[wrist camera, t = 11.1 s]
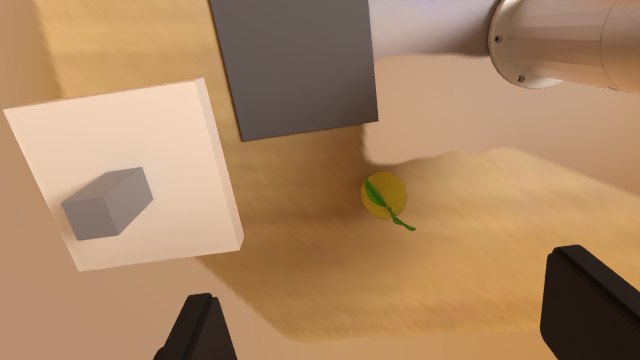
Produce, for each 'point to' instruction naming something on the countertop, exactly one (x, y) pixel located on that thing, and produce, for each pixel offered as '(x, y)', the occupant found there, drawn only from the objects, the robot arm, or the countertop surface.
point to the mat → (297, 64)
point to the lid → (132, 173)
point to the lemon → (384, 196)
